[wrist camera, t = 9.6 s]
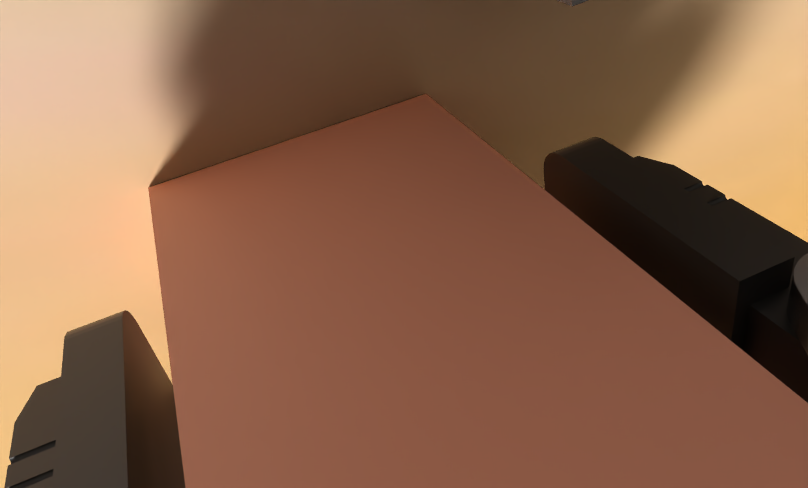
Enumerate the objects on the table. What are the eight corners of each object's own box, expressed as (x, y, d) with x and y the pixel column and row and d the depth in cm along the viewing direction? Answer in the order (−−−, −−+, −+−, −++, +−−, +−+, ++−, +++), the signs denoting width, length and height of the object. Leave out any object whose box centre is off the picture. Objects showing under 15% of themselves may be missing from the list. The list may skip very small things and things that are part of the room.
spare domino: (425, 93, 12) (1081, 625, 4) (442, 188, 13) (974, 747, 5) (148, 187, 11) (267, 1156, 3) (193, 280, 12) (366, 1155, 4)
